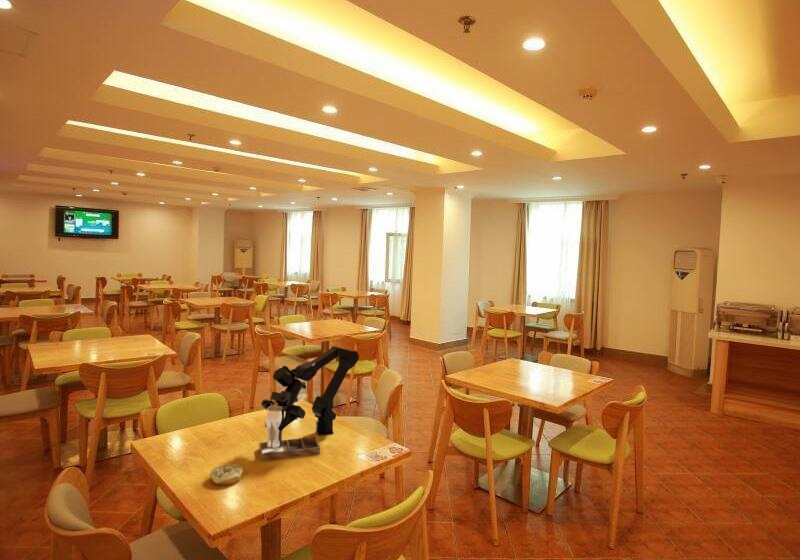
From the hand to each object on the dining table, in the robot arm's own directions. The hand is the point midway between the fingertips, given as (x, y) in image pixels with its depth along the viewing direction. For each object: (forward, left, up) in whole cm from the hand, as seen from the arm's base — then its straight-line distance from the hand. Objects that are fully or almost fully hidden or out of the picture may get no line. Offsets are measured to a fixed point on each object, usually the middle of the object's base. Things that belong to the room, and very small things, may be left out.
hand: (272, 428), depth 179 cm
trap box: (-6, -1, -10) cm, 12 cm away
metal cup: (-1, -1, -7) cm, 8 cm away
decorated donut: (+17, +16, -11) cm, 25 cm away
